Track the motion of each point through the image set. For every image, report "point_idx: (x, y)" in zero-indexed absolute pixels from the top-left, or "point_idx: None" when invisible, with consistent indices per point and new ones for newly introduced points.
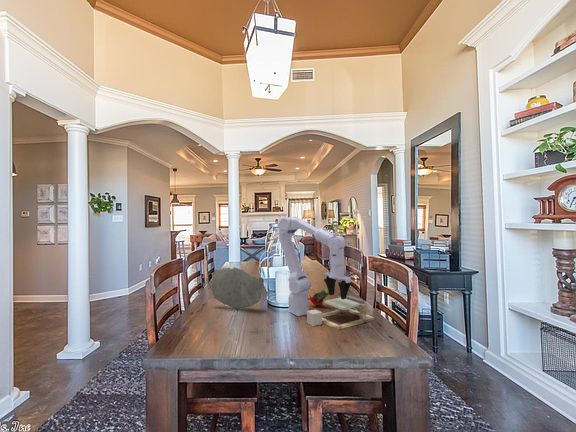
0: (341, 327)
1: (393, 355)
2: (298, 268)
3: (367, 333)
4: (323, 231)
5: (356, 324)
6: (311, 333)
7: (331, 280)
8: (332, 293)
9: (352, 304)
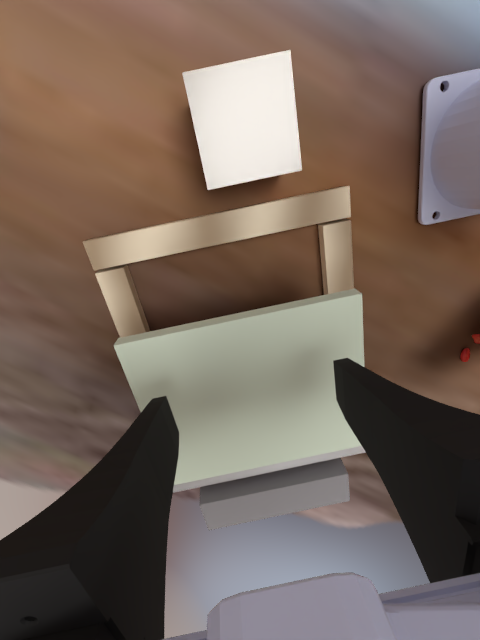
0: (100, 270)
1: None
2: None
3: (6, 360)
4: None
5: None
6: (58, 11)
7: (440, 527)
8: (340, 393)
9: None
